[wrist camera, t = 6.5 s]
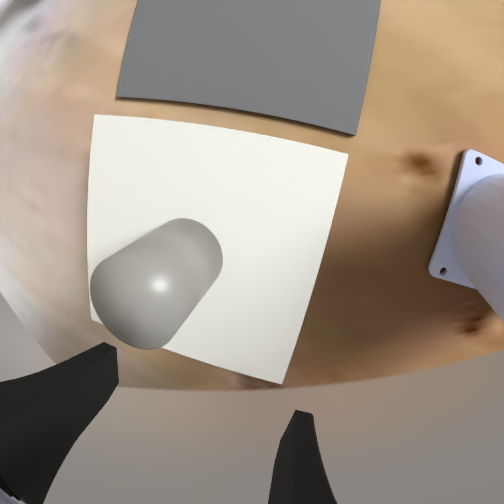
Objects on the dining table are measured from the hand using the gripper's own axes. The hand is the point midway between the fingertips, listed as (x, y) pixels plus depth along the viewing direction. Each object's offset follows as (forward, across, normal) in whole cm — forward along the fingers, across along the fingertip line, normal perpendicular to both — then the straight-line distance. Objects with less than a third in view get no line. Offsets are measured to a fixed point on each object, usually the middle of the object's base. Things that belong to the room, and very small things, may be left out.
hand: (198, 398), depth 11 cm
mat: (+10, +4, -18) cm, 21 cm away
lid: (+6, +3, -3) cm, 7 cm away
